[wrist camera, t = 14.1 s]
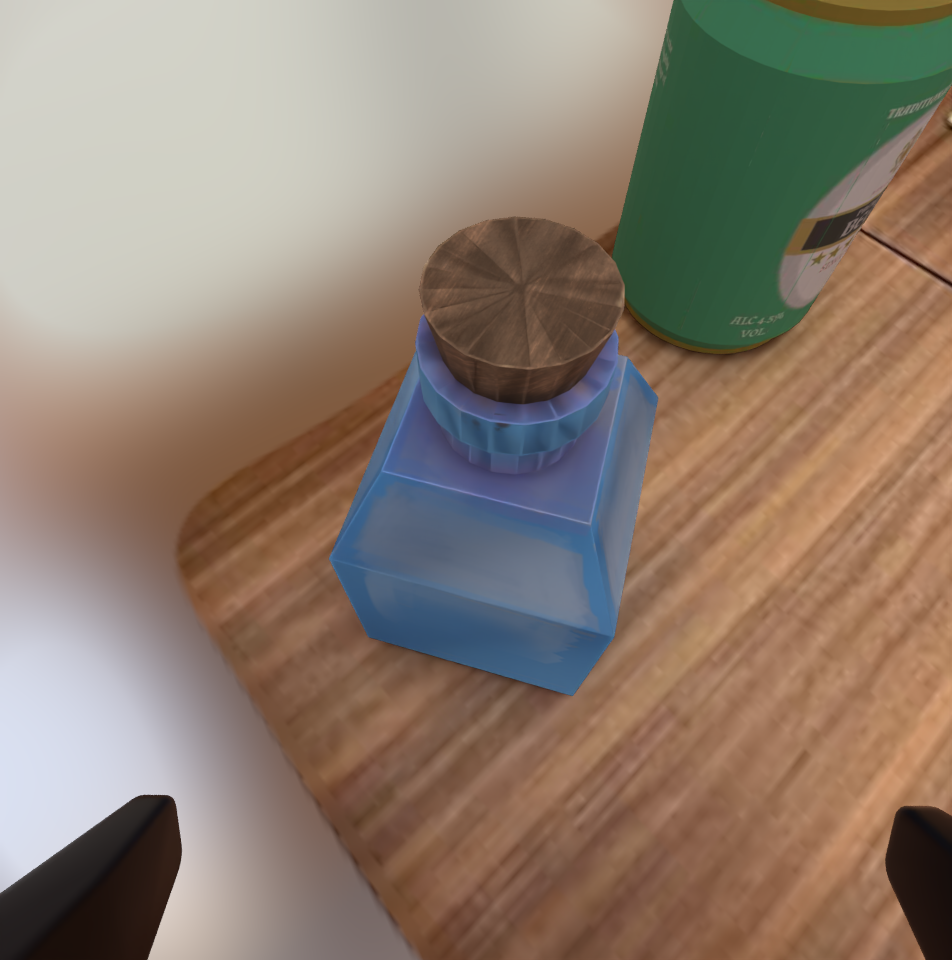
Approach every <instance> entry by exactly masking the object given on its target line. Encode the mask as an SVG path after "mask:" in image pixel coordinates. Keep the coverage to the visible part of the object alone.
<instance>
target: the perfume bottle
mask: <svg viewBox="0 0 952 960" xmlns="http://www.w3.org/2000/svg"><path fill="white" fill-rule="evenodd" d="M419 293H420V298H421V302H422V307H423V312H424V314H423V316H422V317H421V319H420V324H419V328H418V333H417V337H416V342H415V344H416V352H415V354H414V357H413V359H412V361H411V364H410V366H409V369H408V371H407V373H406V376H405V378H404V381H403V383H402V385H401V388H400V390H399V393H398V395H397V397H396V400H395V402H394V404H393V407H392V409H391V412H390V414H389V416H388V419H387V421H386V424H385V426H384V428H383V431H382V433H381V436H380V438H379V440H378V443H377V445H376V448H375V450H374V452H373V455H372V457H371V459H370V462H369V464H368V467H367V469H366V471H365V474H364V476H363V479H362V481H361V483H360V486H359V488H358V491H357V493H356V495H355V498H354V500H353V503H352V505H351V507H350V510H349V512H348V514H347V517H346V519H345V522H344V524H343V526H342V529H341V531H340V534H339V536H338V538H337V541H336V543H335V546H334V548H333V550H332V553H331V555H330V558H329V560H330V562H331V564H332V566H333V568H334V570H335V572H336V574H337V576H338V578H339V580H340V582H341V584H342V586H343V588H344V590H345V592H346V594H347V596H348V598H349V600H350V602H351V604H352V606H353V608H354V610H355V612H356V614H357V616H358V618H359V620H360V621H361V623H362V625H363V627H364V629H365V631H366V633H367V635H368V637H370V638H373V639H377V640H380V641H384V642H387V643H391V644H394V645H398V646H401V647H405V648H408V649H412V650H415V651H418V652H422V653H425V654H429V655H432V656H436V657H439V658H443V659H446V660H450V661H453V662H457V663H460V664H463V665H467V666H470V667H474V668H477V669H481V670H484V671H488V672H491V673H495V674H498V675H502V676H505V677H508V678H512V679H515V680H519V681H522V682H526V683H529V684H533V685H536V686H540V687H543V688H547V689H550V690H553V691H557V692H560V693H564V694H567V695H571V696H573V695H574V694H575V692H576V691H577V689H578V688H579V686H580V685H581V684H582V682H583V681H584V679H585V678H586V677H587V675H588V674H589V672H590V671H591V669H592V668H593V667H594V665H595V664H596V662H597V661H598V659H599V658H600V657H601V655H602V654H603V652H604V651H605V649H606V648H607V647H608V645H609V644H610V642H611V641H612V639H613V638H614V635H615V630H616V624H617V619H618V613H619V608H620V602H621V597H622V592H623V586H624V581H625V575H626V570H627V564H628V559H629V554H630V548H631V543H632V537H633V532H634V526H635V521H636V516H637V510H638V505H639V499H640V494H641V489H642V483H643V478H644V472H645V467H646V461H647V456H648V451H649V445H650V440H651V434H652V429H653V423H654V418H655V413H656V407H657V402H658V397H657V395H656V394H655V393H654V391H653V390H652V389H651V387H650V386H649V385H648V383H647V382H646V381H645V379H644V378H643V377H642V375H641V374H640V373H639V371H638V370H637V369H636V368H635V366H634V365H633V364H632V362H631V361H630V360H629V358H628V357H626V356H622V355H618V336H617V333H616V330H615V328H616V326H617V323H618V321H619V319H620V317H621V315H622V313H623V311H624V297H625V285H624V282H623V280H622V277H621V275H620V272H619V270H618V268H617V265H616V263H615V261H614V260H613V259H612V258H611V257H610V256H609V255H608V254H607V253H606V252H605V250H604V249H603V248H602V247H601V246H600V245H599V244H598V243H597V242H595V241H594V240H592V239H590V238H589V237H587V236H585V235H584V234H582V233H581V232H579V231H577V230H576V229H574V228H571V227H568V226H565V225H562V224H559V223H555V222H552V221H549V220H546V219H537V218H526V217H508V218H501V219H493V220H486V221H483V222H480V223H478V224H475V225H473V226H470V227H467V228H465V229H462V230H459V231H458V232H457V233H455V234H454V235H453V236H451V237H450V238H448V239H447V240H446V241H444V242H443V243H442V244H440V245H439V246H438V247H437V248H436V250H435V251H434V253H433V254H432V256H431V257H430V258H429V260H428V262H427V263H426V264H425V266H424V268H423V273H422V277H421V282H420V286H419Z"/></svg>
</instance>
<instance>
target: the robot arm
mask: <svg viewBox="0 0 952 960" xmlns="http://www.w3.org/2000/svg"><path fill="white" fill-rule="evenodd" d="M181 856H182V845H181V838H180V830H179V823H178V816H177V809H176V804H175V801H174V799H173V798H172V797H170V796H168V795H141V796H138V797H135V798H134V799H132V800H131V801H129V802H128V803H126V804H125V805H124V806H122V807H121V808H120V809H118V810H117V811H115V812H114V813H112V814H111V815H109V816H108V817H107V818H105V819H104V820H103V821H101V822H100V823H98V824H97V825H95V826H94V827H93V828H91V829H90V830H88V831H87V832H86V833H84V834H83V835H81V836H80V837H79V838H77V839H76V840H74V841H73V842H72V843H70V844H69V845H67V846H66V847H65V848H63V849H62V850H60V851H59V852H58V853H56V854H55V855H53V856H52V857H51V858H49V859H48V860H46V861H45V862H43V863H42V864H41V865H39V866H38V867H37V868H35V869H34V870H32V871H31V872H29V873H28V874H27V875H25V876H24V877H23V878H21V879H20V880H18V881H17V882H15V883H14V884H13V885H11V886H10V887H8V888H7V889H6V890H4V891H3V892H1V893H0V960H147V959H148V957H149V954H150V951H151V948H152V945H153V942H154V939H155V936H156V934H157V931H158V928H159V925H160V922H161V919H162V916H163V913H164V911H165V908H166V905H167V902H168V899H169V896H170V893H171V891H172V888H173V885H174V882H175V879H176V876H177V873H178V870H179V866H180V862H181ZM885 864H886V871H887V875H888V878H889V881H890V883H891V885H892V888H893V890H894V892H895V894H896V896H897V899H898V901H899V903H900V905H901V907H902V909H903V912H904V914H905V916H906V918H907V920H908V922H909V925H910V927H911V929H912V931H913V933H914V935H915V938H916V940H917V942H918V944H919V946H920V949H921V951H922V953H923V955H924V957H925V959H926V960H952V816H951V815H949V814H947V813H946V812H944V811H942V810H940V809H939V808H936V807H931V806H904V807H901V808H900V809H899V810H898V811H897V812H896V815H895V818H894V823H893V827H892V831H891V835H890V840H889V844H888V848H887V853H886V858H885Z"/></svg>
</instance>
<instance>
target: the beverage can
mask: <svg viewBox="0 0 952 960" xmlns="http://www.w3.org/2000/svg"><path fill="white" fill-rule="evenodd" d="M951 86H952V0H674V1H673V5H672V9H671V13H670V18H669V22H668V26H667V30H666V34H665V38H664V42H663V47H662V51H661V55H660V59H659V63H658V67H657V71H656V75H655V79H654V84H653V88H652V92H651V96H650V101H649V105H648V108H647V113H646V117H645V121H644V125H643V129H642V133H641V137H640V141H639V146H638V150H637V154H636V158H635V162H634V166H633V171H632V175H631V179H630V183H629V187H628V191H627V195H626V199H625V203H624V207H623V212H622V216H621V220H620V224H619V228H618V232H617V236H616V240H615V245H614V249H613V254H612V259H613V260H614V261H615V263H616V265H617V268H618V270H619V272H620V275H621V277H622V280H623V282H624V285H625V297H624V303H625V305H626V307H627V308H628V310H629V311H630V313H631V314H632V316H633V317H634V318H635V319H636V320H637V321H638V322H639V323H640V324H641V325H642V326H643V327H645V328H646V329H647V330H648V331H650V332H651V333H652V334H654V335H656V336H657V337H659V338H661V339H662V340H664V341H667V342H669V343H671V344H673V345H675V346H678V347H681V348H685V349H688V350H692V351H697V352H702V353H712V354H728V353H737V352H742V351H747V350H750V349H753V348H756V347H758V346H760V345H762V344H764V343H766V342H768V341H769V340H770V339H772V338H775V337H777V336H779V335H781V334H783V333H785V332H787V331H788V330H790V329H791V328H792V327H794V326H795V325H796V324H797V323H799V322H800V320H801V319H802V318H803V317H804V316H805V314H806V313H807V312H808V310H809V309H810V307H811V305H812V304H813V302H814V301H815V299H816V298H817V296H818V294H819V293H820V291H821V290H822V288H823V287H824V285H825V283H826V282H827V280H828V279H829V277H830V276H831V274H832V273H833V271H834V269H835V268H836V266H837V265H838V263H839V262H840V260H841V258H842V257H843V255H844V254H845V252H846V251H847V249H848V247H849V246H850V244H851V243H852V241H853V240H854V238H855V236H856V235H857V233H858V232H859V230H860V229H861V227H862V225H863V224H864V222H865V221H866V219H867V218H868V216H869V214H870V213H871V211H872V210H873V208H874V207H875V205H876V203H877V202H878V200H879V199H880V197H881V196H882V194H883V192H884V191H885V189H886V188H887V186H888V185H889V183H890V181H891V180H892V178H893V177H894V175H895V174H896V172H897V170H898V169H899V167H900V166H901V164H902V163H903V161H904V159H905V158H906V156H907V155H908V153H909V152H910V150H911V148H912V147H913V145H914V144H915V142H916V141H917V139H918V137H919V136H920V134H921V133H922V131H923V130H924V128H925V126H926V125H927V123H928V122H929V120H930V119H931V117H932V115H933V114H934V112H935V111H936V109H937V108H938V106H939V104H940V103H941V101H942V100H943V98H944V97H945V95H946V93H947V92H948V90H949V89H950V87H951Z"/></svg>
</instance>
